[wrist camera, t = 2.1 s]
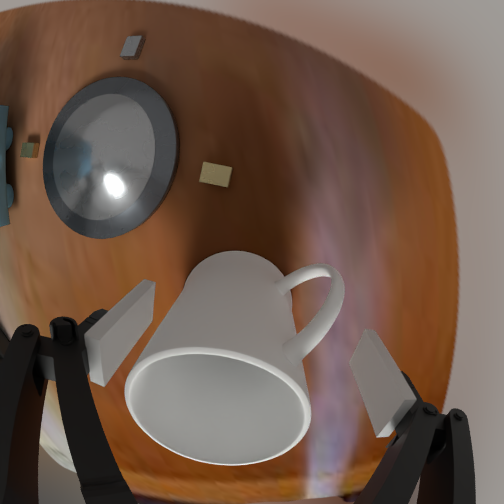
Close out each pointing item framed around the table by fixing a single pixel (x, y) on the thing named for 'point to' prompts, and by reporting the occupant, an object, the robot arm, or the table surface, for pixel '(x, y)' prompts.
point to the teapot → (4, 167)
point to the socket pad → (113, 155)
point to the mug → (231, 362)
